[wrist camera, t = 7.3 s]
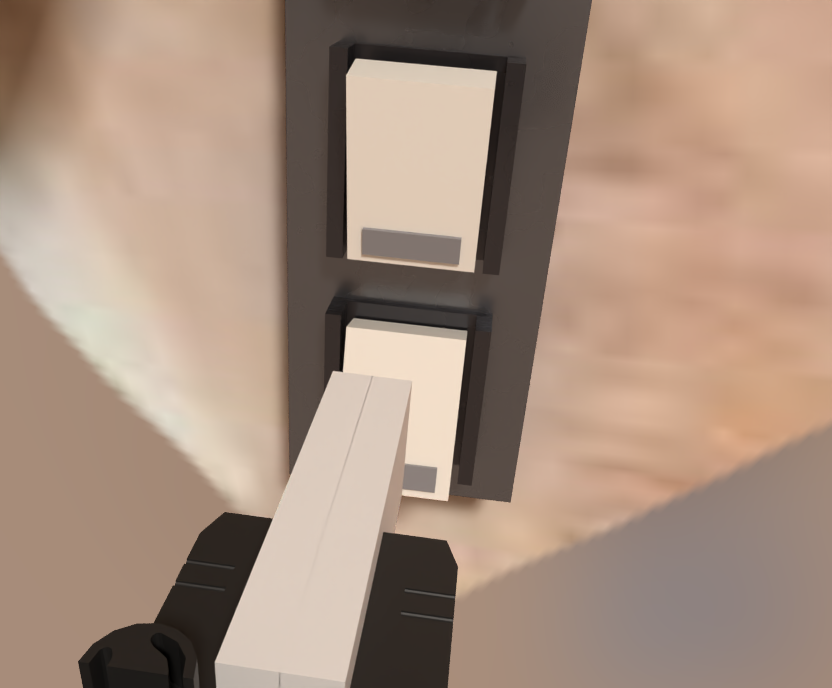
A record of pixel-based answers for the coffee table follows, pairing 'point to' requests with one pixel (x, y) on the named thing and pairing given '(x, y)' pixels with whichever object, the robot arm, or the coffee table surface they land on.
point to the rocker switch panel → (500, 213)
